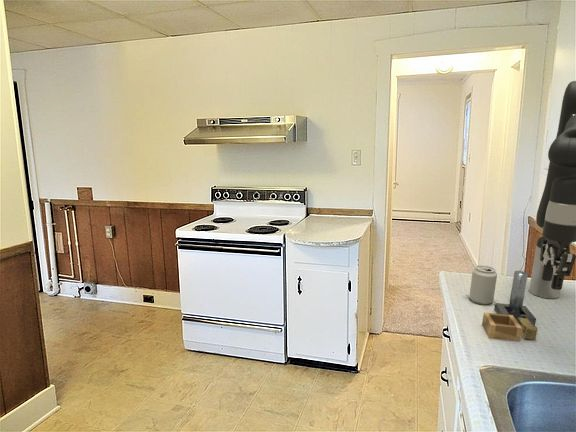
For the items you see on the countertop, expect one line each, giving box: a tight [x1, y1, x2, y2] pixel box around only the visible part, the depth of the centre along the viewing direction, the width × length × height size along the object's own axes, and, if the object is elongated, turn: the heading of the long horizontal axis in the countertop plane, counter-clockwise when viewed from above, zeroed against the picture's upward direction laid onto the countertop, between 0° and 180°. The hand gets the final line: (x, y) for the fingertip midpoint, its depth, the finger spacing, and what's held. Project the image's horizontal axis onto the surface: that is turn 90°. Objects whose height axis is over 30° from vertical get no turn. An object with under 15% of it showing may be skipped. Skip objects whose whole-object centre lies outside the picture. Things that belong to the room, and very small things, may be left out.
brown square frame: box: [481, 311, 522, 342], centre depth 119 cm, size 8×8×4 cm
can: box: [468, 264, 498, 306], centre depth 139 cm, size 8×8×12 cm
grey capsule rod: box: [508, 270, 529, 314], centre depth 126 cm, size 4×4×15 cm
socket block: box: [493, 302, 537, 326], centre depth 128 cm, size 9×9×2 cm
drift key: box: [517, 318, 539, 341], centre depth 118 cm, size 7×3×4 cm, turn 169°
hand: (551, 284), depth 105 cm, fingers open, 5 cm apart
